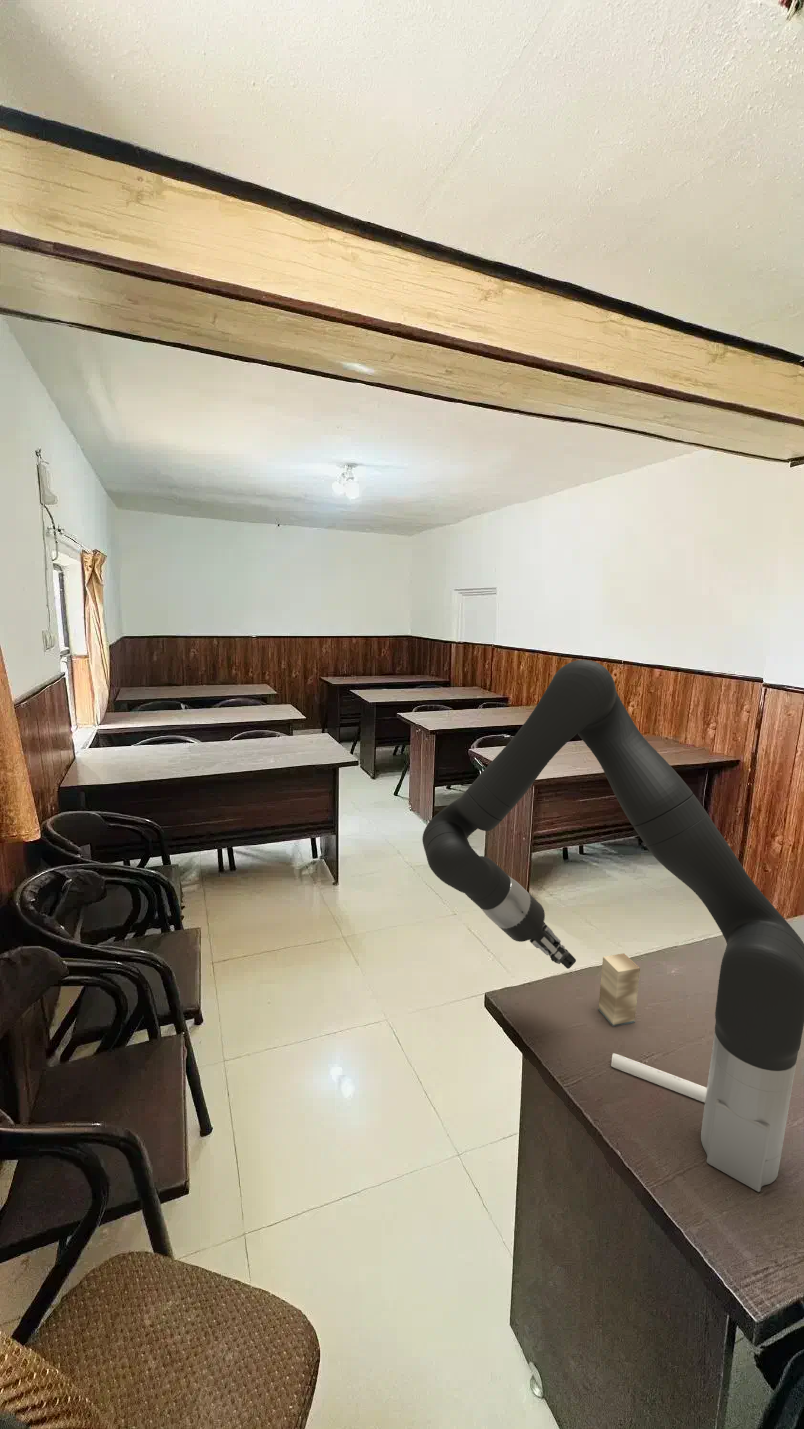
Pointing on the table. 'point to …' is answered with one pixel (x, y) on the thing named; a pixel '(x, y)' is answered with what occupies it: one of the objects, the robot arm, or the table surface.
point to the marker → (659, 1077)
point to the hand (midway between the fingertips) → (570, 962)
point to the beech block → (619, 989)
